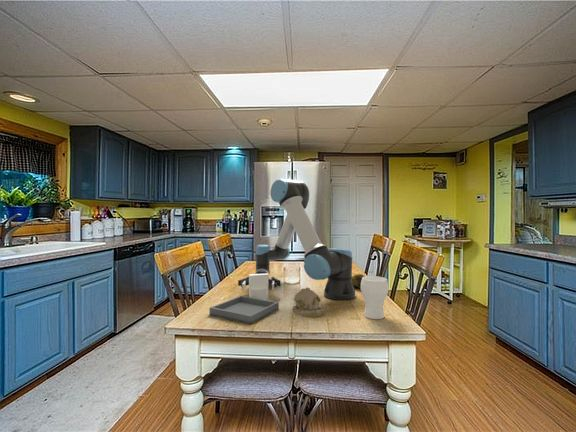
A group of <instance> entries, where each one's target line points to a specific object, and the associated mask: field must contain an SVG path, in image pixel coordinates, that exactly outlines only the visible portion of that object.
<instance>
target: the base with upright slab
mask: <svg viewBox="0 0 576 432" xmlns="http://www.w3.org/2000/svg"><path fill="white" fill-rule="evenodd" d="M248 277H249V285H248V297H251V298H257V299H262V300H268V301H269V284H268V274H267V273H264V274H255V273H250V274H248Z"/></svg>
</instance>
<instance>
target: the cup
mask: <svg viewBox="0 0 576 432" xmlns="http://www.w3.org/2000/svg"><path fill="white" fill-rule="evenodd" d="M360 292H361V295H362V297H363V300H364V305H365V308H364V311H363V312H364V313H363V316H364V317H365V318H367V319H371V320H381V319H384V318H385V313H384V304H385V300H386V298H387V297H388V293H389V282H388V279H387V278H386V277H382V276H378V275H377V276H376V275H367V276H365V275H364V277H363V278H362V281H361V288H360Z"/></svg>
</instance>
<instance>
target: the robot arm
mask: <svg viewBox="0 0 576 432" xmlns="http://www.w3.org/2000/svg"><path fill="white" fill-rule="evenodd" d="M269 194H270V198H271V200H272V201H273V202H275V203H278V204H279V206H280V209H281V210H284V211H285V212H286V216H285V218H284V221H283V224H282V226H281V229H280V232H279V235H278V237H277V240H276V243H275V244H274V247H270V245H269V244H257V245H256V247H255V273H254V274H264V273H267V274H268V286H272V287H271V290H272V291H275V288H277V287H281V282H282V281H281V280H280V279H278V278H276V277H274V276H272V277H270V275H271V274H270V273H271V270H270V266H271V265H270V264H271V262H273V261H279V260H286V259H287V258H289V256H290V252H291V250H290V244H291V242H292V240H293V237H294V235H295V233H296V236H297V237H298V239H299V241H300V244H301V245H302V247H303V250H304V254H303V258H304V260H303V269H304V271H305V273H306V275H307V276H308V277H309V278H310V279H312V280H316V281H319V280H321V281H324V280H326V279H327V280H326V283H325V286H324V290H323V296H324V297H325V298H328V299H330V300H338V301H346V300H347V301H348V300H352V299H353V300H354V299H355V298H356V290H355V286H353V283H352V276H353V272H352V271H353V253H352V251H351V250H349V249H344V248H342V249H341V248H332V247H328V246H327V245H326V244H323V243H322V241H321V239H320V238H319V235H318V234H317V232H316V229H315V228H314V225H313V223H312V221H311V220H310V217H309V215H308V213H307V211H306V209H307V207H308V203H309V202H310V190H309V186H308V185H307V184H306V183H305V182H304V181H302V180H297V179H286V178H277V179H276V180H274V181H273V183H272V185H271V187H270V193H269ZM237 285H238V287H241V288H242V289H241V290H242V291H245V288H246V286H249V276H247V277H245V278H242V279H239V280H237Z"/></svg>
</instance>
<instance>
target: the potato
mask: <svg viewBox="0 0 576 432" xmlns="http://www.w3.org/2000/svg"><path fill="white" fill-rule="evenodd" d="M363 277H365V275H364V274H360V273H357V274H354V275H352V283H353V286H354V288H358V289H359V288H360V289H361V281H362V278H363Z"/></svg>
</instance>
